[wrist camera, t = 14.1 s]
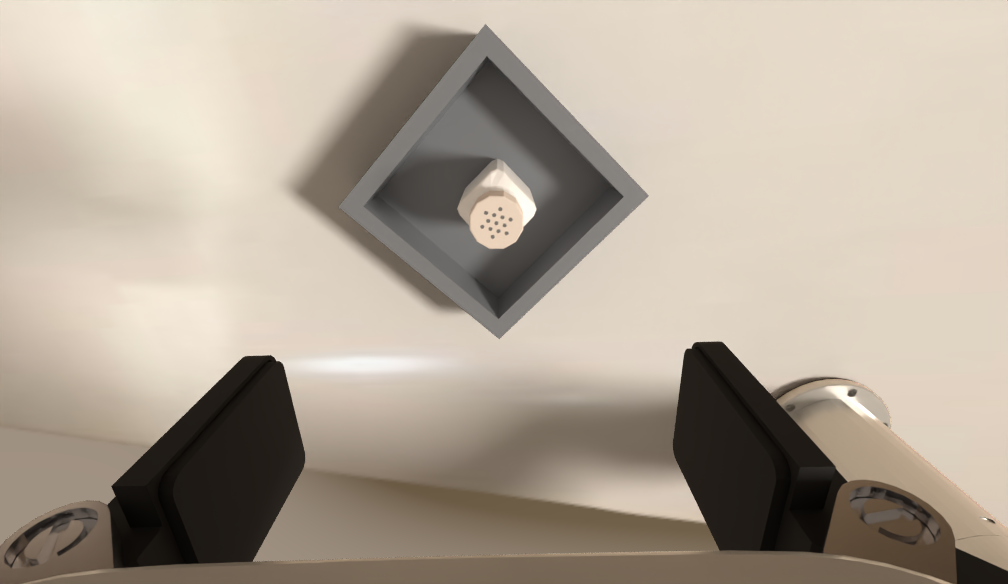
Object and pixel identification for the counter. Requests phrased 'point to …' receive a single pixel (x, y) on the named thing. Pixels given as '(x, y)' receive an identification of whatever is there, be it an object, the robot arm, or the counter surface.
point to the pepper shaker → (496, 206)
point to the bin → (460, 159)
